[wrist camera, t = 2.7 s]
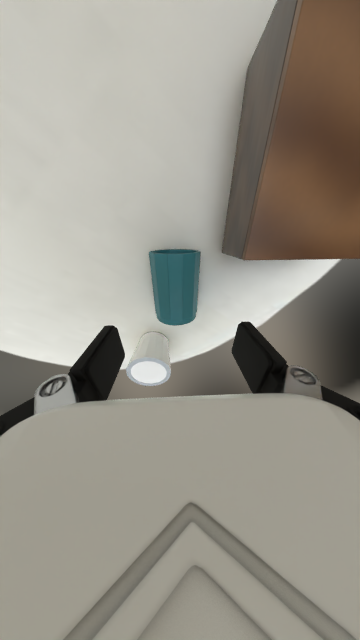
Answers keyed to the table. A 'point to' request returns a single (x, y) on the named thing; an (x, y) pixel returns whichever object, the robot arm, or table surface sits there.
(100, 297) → the table surface
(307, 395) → the robot arm
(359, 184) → the stand
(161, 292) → the drinking cup
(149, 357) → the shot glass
